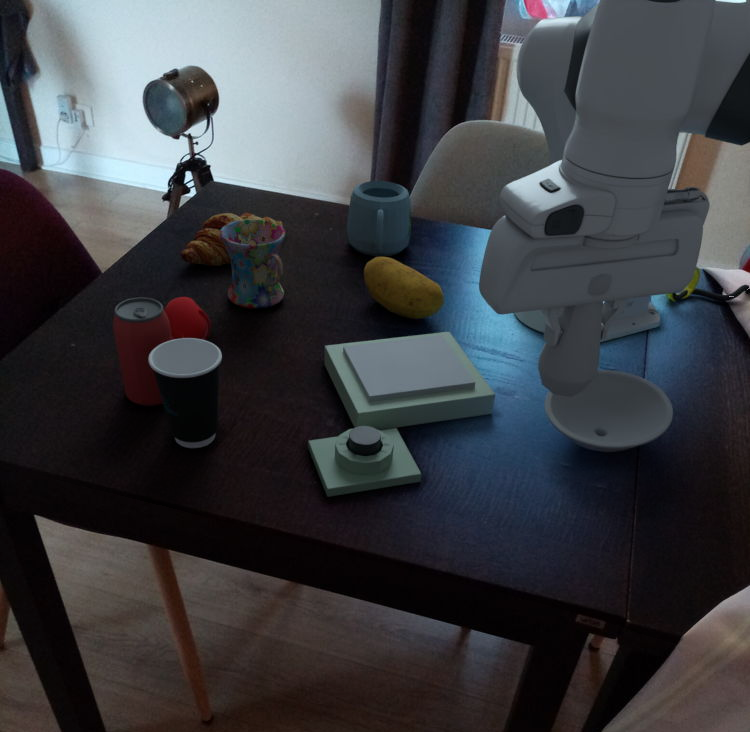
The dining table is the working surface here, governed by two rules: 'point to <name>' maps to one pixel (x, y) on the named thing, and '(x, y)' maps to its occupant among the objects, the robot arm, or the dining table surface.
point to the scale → (407, 381)
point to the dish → (611, 412)
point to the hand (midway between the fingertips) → (573, 340)
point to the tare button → (364, 441)
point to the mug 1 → (254, 262)
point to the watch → (689, 285)
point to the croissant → (214, 240)
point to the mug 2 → (379, 218)
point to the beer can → (140, 346)
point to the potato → (402, 288)
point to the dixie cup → (189, 388)
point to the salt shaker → (575, 345)
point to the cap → (187, 319)
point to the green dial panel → (363, 464)
